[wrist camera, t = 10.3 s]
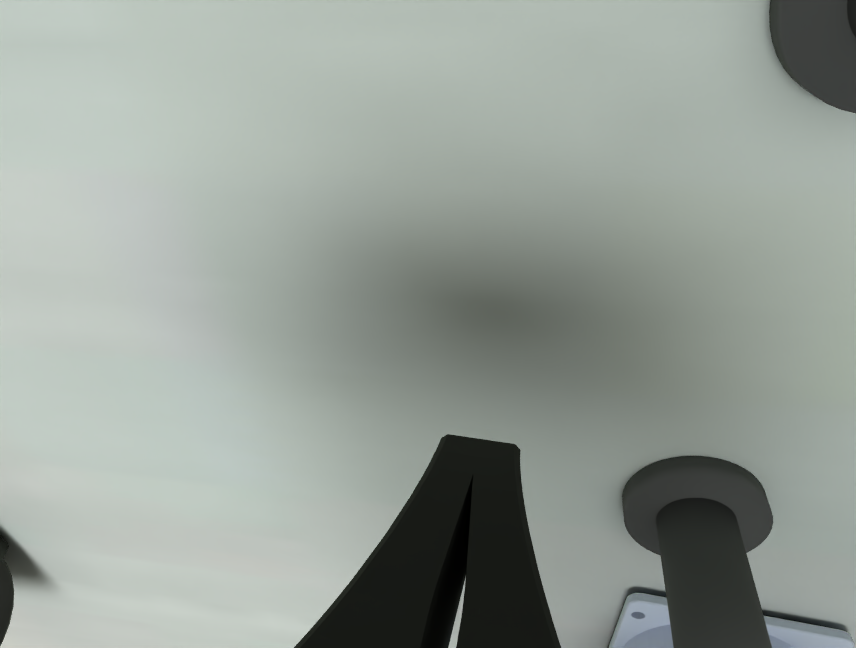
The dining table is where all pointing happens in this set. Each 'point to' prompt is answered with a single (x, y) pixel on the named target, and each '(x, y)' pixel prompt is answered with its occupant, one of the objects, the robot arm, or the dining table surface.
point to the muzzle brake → (5, 592)
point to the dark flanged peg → (818, 47)
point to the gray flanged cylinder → (703, 546)
